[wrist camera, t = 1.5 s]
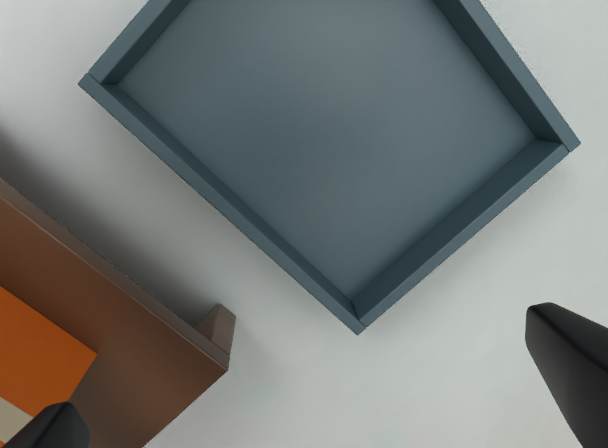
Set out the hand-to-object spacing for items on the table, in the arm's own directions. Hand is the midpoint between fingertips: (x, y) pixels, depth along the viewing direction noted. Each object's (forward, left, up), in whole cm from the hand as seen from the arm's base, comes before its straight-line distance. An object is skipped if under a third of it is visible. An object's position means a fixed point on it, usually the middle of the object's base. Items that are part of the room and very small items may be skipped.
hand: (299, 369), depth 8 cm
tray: (+5, +1, -13) cm, 14 cm away
